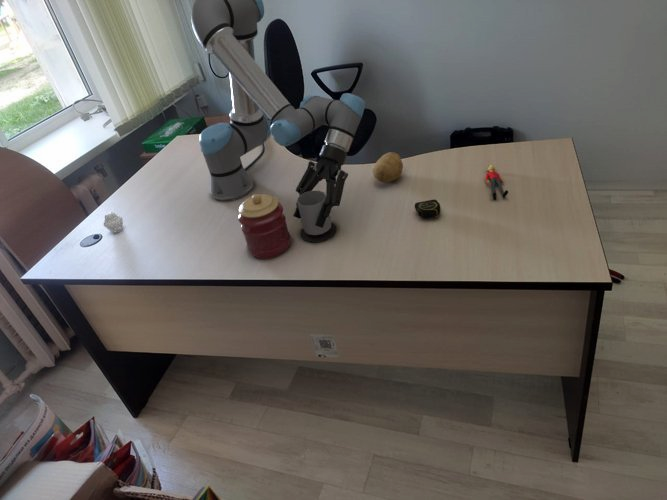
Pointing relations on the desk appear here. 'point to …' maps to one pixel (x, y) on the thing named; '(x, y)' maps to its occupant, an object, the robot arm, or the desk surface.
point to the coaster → (320, 237)
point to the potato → (388, 167)
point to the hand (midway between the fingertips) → (307, 222)
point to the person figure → (495, 181)
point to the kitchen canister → (264, 226)
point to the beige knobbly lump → (113, 222)
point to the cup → (312, 212)
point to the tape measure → (428, 209)
